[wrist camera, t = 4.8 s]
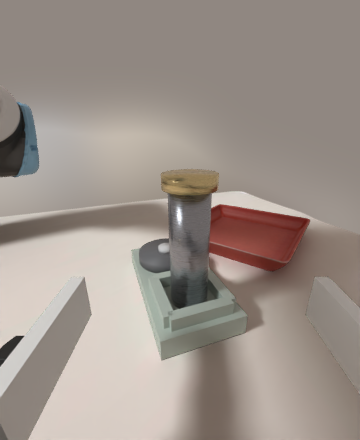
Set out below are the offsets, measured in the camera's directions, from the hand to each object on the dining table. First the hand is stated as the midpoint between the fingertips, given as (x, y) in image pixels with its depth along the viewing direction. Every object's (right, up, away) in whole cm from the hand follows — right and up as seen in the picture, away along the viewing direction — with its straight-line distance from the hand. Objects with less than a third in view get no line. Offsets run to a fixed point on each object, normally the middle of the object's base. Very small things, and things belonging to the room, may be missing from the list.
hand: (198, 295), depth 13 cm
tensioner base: (-1, -4, +13) cm, 14 cm away
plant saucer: (+10, +1, +26) cm, 28 cm away
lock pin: (0, -3, +9) cm, 10 cm away
